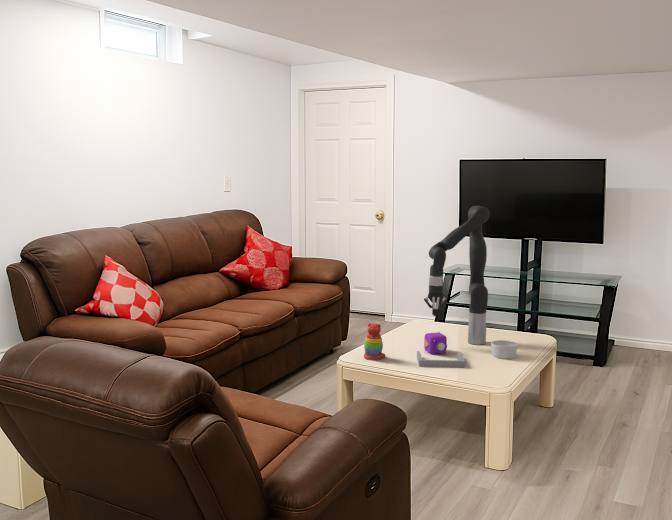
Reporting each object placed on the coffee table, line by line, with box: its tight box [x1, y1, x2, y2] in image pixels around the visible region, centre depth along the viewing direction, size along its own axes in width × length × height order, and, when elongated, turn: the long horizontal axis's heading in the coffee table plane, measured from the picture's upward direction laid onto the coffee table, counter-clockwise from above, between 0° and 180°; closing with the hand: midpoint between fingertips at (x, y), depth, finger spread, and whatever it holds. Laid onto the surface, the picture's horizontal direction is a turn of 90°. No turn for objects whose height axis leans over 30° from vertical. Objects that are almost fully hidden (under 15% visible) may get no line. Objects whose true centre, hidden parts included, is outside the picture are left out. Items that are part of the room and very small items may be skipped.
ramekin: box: [490, 339, 519, 360], centre depth 360 cm, size 13×13×7 cm
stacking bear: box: [363, 322, 387, 361], centre depth 354 cm, size 11×10×18 cm
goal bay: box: [416, 350, 466, 368], centre depth 348 cm, size 22×16×3 cm
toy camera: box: [423, 331, 448, 355], centre depth 365 cm, size 11×14×10 cm
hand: (434, 315), depth 377 cm, fingers closed
